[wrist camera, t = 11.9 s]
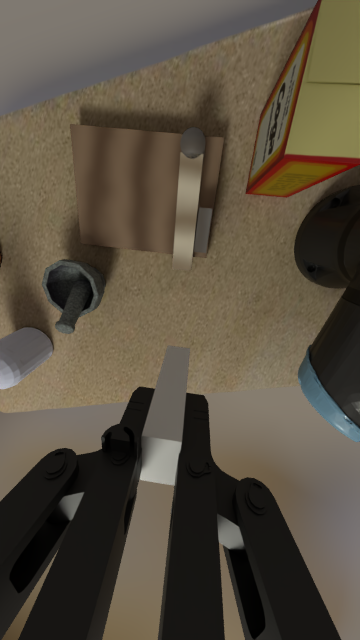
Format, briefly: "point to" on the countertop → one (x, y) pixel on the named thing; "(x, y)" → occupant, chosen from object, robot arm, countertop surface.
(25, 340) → the soap bottle
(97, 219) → the stool seat
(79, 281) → the mortar and pestle
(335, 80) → the baking soda box
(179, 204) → the hinged leg
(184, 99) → the countertop surface
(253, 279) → the countertop surface
